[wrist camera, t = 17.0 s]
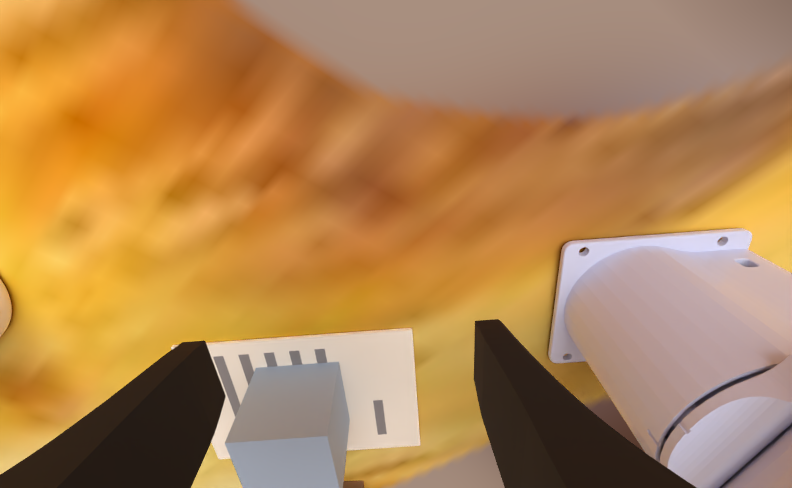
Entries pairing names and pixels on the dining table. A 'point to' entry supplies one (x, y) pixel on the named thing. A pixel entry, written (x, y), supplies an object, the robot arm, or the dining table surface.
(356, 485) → the walnut block
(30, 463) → the robot arm
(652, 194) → the dining table surface
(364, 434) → the letter
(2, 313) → the pill bottle
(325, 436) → the slate cube
